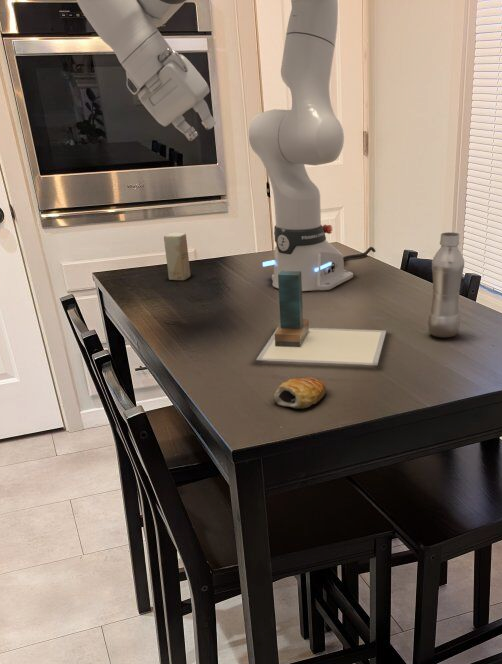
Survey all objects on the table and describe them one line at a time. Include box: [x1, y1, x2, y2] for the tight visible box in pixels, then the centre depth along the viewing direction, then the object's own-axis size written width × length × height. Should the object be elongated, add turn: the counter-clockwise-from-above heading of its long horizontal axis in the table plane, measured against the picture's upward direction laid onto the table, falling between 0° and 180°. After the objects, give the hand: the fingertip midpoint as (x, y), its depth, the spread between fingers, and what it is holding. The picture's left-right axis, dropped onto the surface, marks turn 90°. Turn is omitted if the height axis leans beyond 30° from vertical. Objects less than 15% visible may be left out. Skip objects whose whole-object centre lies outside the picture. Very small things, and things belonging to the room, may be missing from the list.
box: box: [163, 231, 191, 281], centre depth 187 cm, size 5×4×11 cm
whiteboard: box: [255, 326, 387, 366], centre depth 143 cm, size 23×20×1 cm
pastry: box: [273, 377, 327, 410], centre depth 121 cm, size 9×7×4 cm
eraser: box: [275, 271, 310, 347], centre depth 143 cm, size 5×10×13 cm, turn 172°
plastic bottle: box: [427, 232, 465, 338], centre depth 143 cm, size 6×7×20 cm
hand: (203, 132), depth 137 cm, fingers open, 8 cm apart
